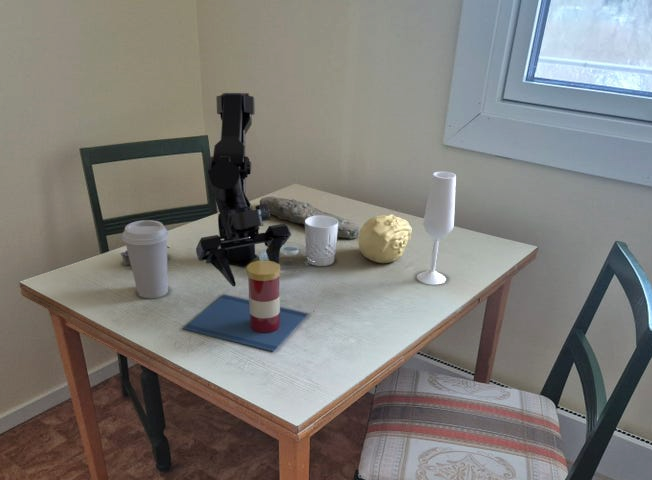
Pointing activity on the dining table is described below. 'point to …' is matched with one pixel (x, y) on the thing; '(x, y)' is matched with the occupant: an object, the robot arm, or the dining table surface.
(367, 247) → the sculpture
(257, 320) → the jam jar
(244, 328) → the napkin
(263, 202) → the elongated rock
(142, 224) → the coffee cup
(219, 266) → the robot arm
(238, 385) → the dining table surface
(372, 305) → the dining table surface
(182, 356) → the dining table surface
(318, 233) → the white cup
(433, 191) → the champagne flute
